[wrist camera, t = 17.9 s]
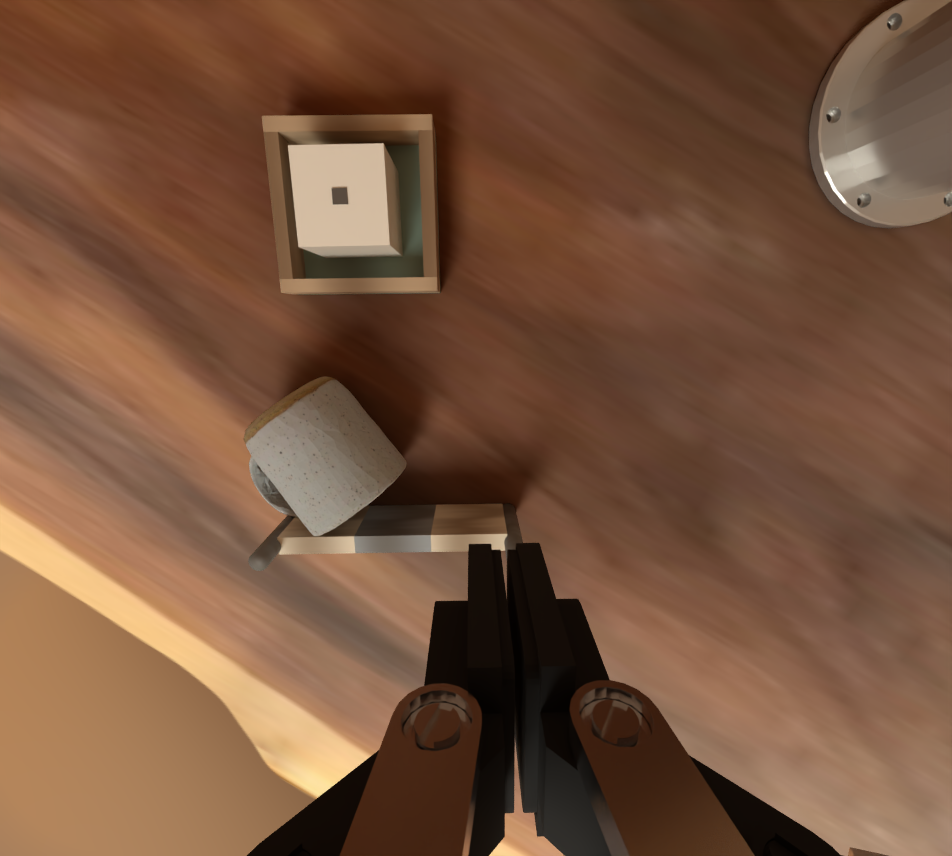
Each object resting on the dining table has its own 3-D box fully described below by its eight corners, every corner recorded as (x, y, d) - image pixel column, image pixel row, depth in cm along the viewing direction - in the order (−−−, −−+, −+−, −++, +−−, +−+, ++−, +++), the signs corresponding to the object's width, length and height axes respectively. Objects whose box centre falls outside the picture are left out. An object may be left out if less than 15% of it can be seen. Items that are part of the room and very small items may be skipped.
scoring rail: (515, 503, 35) (526, 548, 28) (515, 518, 35) (525, 566, 29) (290, 506, 35) (247, 553, 28) (292, 521, 35) (249, 570, 28)
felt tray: (435, 134, 29) (431, 114, 26) (440, 292, 31) (437, 290, 28) (282, 135, 29) (261, 115, 26) (298, 294, 31) (281, 292, 28)
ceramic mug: (343, 361, 32) (302, 376, 25) (416, 451, 34) (398, 490, 27) (234, 448, 34) (166, 487, 27) (309, 530, 36) (264, 587, 28)
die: (398, 170, 29) (383, 141, 24) (402, 256, 30) (389, 244, 25) (317, 172, 29) (285, 143, 24) (325, 257, 30) (296, 246, 25)
